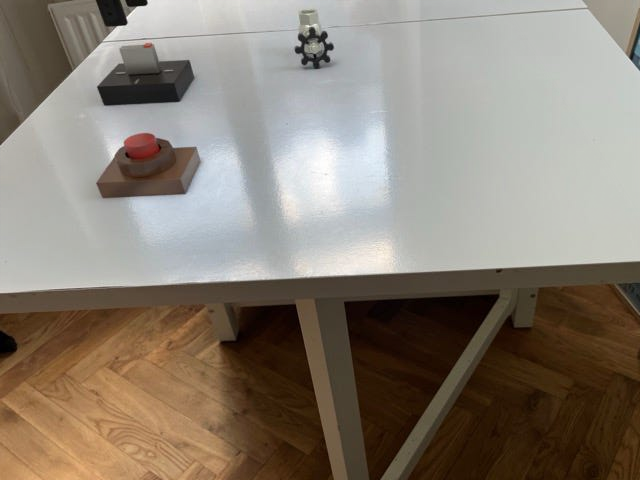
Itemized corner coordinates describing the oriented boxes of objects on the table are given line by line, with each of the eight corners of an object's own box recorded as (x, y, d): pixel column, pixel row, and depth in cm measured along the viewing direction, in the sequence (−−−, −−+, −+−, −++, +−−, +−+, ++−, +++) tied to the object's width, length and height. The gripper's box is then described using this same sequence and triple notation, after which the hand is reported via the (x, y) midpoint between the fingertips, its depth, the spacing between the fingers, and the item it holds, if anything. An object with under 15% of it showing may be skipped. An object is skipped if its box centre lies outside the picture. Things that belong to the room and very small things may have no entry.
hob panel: (103, 105, 87) (96, 85, 85) (124, 81, 95) (118, 62, 92) (179, 101, 87) (173, 81, 85) (194, 77, 94) (189, 58, 92)
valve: (294, 48, 103) (297, 71, 95) (288, 9, 99) (291, 30, 90) (329, 44, 104) (335, 67, 95) (325, 6, 100) (331, 26, 91)
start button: (124, 161, 65) (119, 147, 64) (134, 146, 68) (129, 133, 67) (154, 159, 65) (150, 146, 64) (163, 145, 68) (158, 132, 67)
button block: (102, 199, 66) (89, 169, 63) (124, 165, 72) (113, 137, 69) (185, 195, 66) (176, 165, 63) (201, 161, 72) (192, 133, 69)
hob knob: (127, 75, 88) (118, 47, 85) (131, 71, 89) (121, 44, 87) (158, 73, 88) (150, 45, 85) (161, 69, 89) (153, 42, 86)
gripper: (77, -131, 78) (122, 0, 90) (20, -116, 66) (81, 36, 77) (129, -135, 78) (168, -3, 90) (83, -120, 65) (134, 32, 77)
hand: (128, 15), depth 83 cm, fingers open, 9 cm apart
